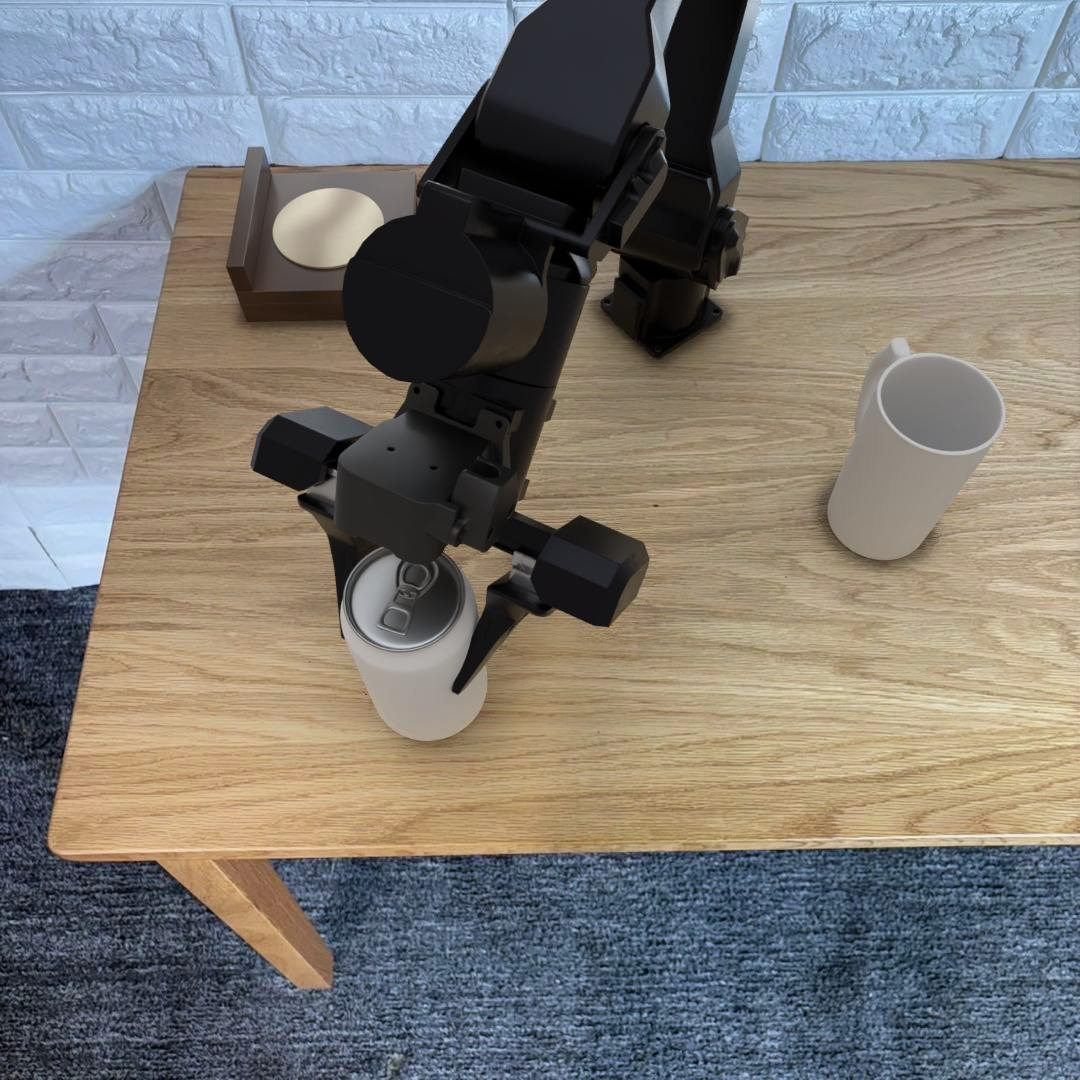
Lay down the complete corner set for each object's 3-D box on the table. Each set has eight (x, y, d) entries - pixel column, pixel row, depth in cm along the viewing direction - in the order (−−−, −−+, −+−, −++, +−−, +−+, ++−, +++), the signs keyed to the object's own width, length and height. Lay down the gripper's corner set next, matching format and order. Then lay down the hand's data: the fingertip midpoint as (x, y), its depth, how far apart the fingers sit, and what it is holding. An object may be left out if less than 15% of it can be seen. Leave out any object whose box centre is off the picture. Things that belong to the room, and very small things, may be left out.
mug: (946, 557, 62) (1027, 445, 52) (842, 573, 62) (902, 463, 51) (891, 427, 67) (954, 301, 57) (794, 441, 66) (840, 316, 56)
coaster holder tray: (419, 201, 78) (411, 143, 73) (413, 318, 72) (404, 263, 67) (265, 204, 78) (247, 146, 73) (246, 321, 72) (225, 266, 67)
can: (504, 654, 57) (495, 555, 47) (463, 759, 54) (443, 679, 44) (400, 620, 58) (367, 516, 48) (354, 722, 55) (309, 635, 45)
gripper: (213, 292, 40) (139, 634, 44) (646, 469, 35) (511, 826, 40) (353, 296, 50) (280, 574, 55) (701, 434, 46) (588, 721, 50)
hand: (402, 663), depth 50 cm, fingers closed on can, 6 cm apart
